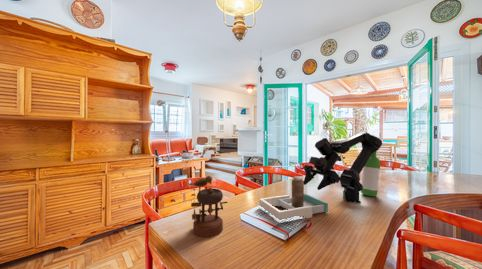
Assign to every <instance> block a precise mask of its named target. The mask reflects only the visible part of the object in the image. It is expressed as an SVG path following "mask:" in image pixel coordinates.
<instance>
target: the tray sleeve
mask: <svg viewBox="0 0 482 269" xmlns="http://www.w3.org/2000/svg"><path fill="white" fill-rule="evenodd" d="M285 198H291V197H290V195H289V194H284V195H277V196H276V195H275V196H269V197H263V198H259V201H258V202H259V206H261V207H263V208H264V209H265V210H267V211H268V212H269V213H271V214H272V215H274V216H275V217H276V218H278V219H279V220H282V219H287V218H291V217H294V216H305V217H306V218H307V219H310V218H311V219H312V218H313V214H312V206H305V207H299V208H293V209H288V210H287V209H283V210H282V209H281V210H280V209H278V208H277V207H274V206H272V205H275V206H278V207H281V206H280V204H279V199H285ZM259 206H258V207H259Z"/></svg>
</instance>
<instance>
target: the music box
mask: <svg viewBox="0 0 482 269" xmlns="http://www.w3.org/2000/svg"><path fill="white" fill-rule="evenodd" d="M212 181H213V177H212V176H210V175H207V176H206V177H202V178H199V179H198V180H196V181H194V182H192V183H191V182H190V183H188V186H189V187H190V186H191V187H192V186H194V188H193V190H194V198H193V202H191V203H190V208H193V207H194V209H193V213H192V214H191V220H192V221H193V222H192V223H193V225H192V226H193V231H192V232H193V234H194V236H196V237H199V238H204V239H207V238H208V239H209V238H214V237H217V236H219V235H220V234H221V233H222V232H223V228H224V225H223V224H224V223H223V222H224V221H223V218H222V217H220V215H219V212H218V211H221V210H222V211H223V210H224V207H223V204H228V201H222V200H223V197H224V194H223V192H222V190H221V189H218V188H213V187H212V186H208V188H204V189H201V187H205V186H207V185H208V184H210V185H213V183H212ZM196 187H198V192H197V195H195V194H196V192H195V191H196ZM195 196H196V198H195ZM195 200H197V201H196V202H195ZM219 205H220V207H219ZM206 206H208V208H207V209H205V208H206ZM213 206H214V208H213ZM195 207H201V208H199V210H198V213H196V208H195ZM213 212H214V214H212V213H213ZM207 213H208V214H207Z"/></svg>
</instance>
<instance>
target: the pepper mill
mask: <svg viewBox="0 0 482 269" xmlns="http://www.w3.org/2000/svg"><path fill="white" fill-rule="evenodd" d="M292 178H293V179H291V198H292V206H293V207H295V208H299V207H304V193H305V192H304V190H305V188H304V187H305V185H304V179H303V177H302V176H293V177H292Z"/></svg>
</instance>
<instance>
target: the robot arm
mask: <svg viewBox="0 0 482 269" xmlns="http://www.w3.org/2000/svg"><path fill="white" fill-rule="evenodd" d="M358 144H361V150H360V152H359V154H358V155H357V157H356V158H355V160H354V161H353V163H352V164H351V166H350V168H349V169H343V170H342V172H341V174H340V175H339V174H338V173H337V171H336V170H334V169H335V167H334V166H335V164H336V163H337V162H342V160H343V159H342V156H341V155H340V154H343V155H344V154H346V153H348V152H349V151H350V149H351V148H352V147H354V146H355V145H358ZM382 145H383V141H382V140H381V138H380V137H377V136H375V135H372V134H370V132H365V131H360V132H357V133H356V134H354V135H351V136H350V137H348V138H345V139H342V140H335V141H332V142H330V141H329V140H328V138H327V137H323V138H322V139H320V140H318V141H316V142H315V145H314V147H315V148H316V150H317V151H318V152H319V153H320V155H321V157H315V156H310V158H309V161H308V163H309V164H305V165H304V166H303V171H304V172H305V174H304V175H305V176H304V179H303V181H304V186H306V185H308V183H310V181H312V180H313V179H314V178H315V176H316V175H320V176H323V177H322V180H320V182H319V184H318V185H317V190H318V191H320V190H322V189H324V188H326V187H329V186H331V185H335V184H336V183H337V184H339V183H340V187H341V188H343V190H342V199H343V200H344V201H345V202H347V203H359V204H360V203H362V201H361V200H360V192H361V190H362V189H363V186H362V182H360V180H361V176H360V174H361V172H363V167H364V166H365V164H366V163H367V161H368V159H369V158H370V156H371V154H372V153H374V152H376V153H377V152H378V151H379V150H380V149H381V147H383V146H382ZM310 164H311V165H310ZM312 165H313V166H312Z"/></svg>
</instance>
